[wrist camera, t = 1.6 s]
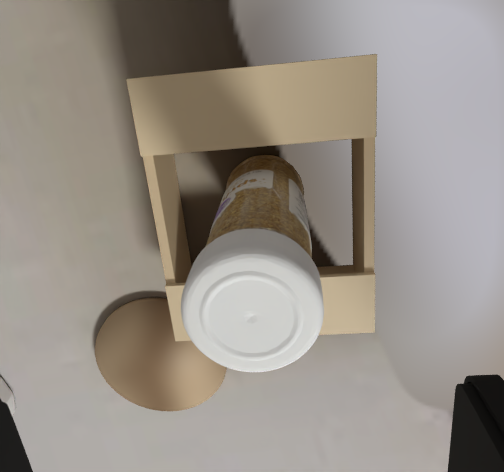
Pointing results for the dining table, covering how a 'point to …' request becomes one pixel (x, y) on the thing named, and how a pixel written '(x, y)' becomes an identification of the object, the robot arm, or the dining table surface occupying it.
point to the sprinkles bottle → (256, 273)
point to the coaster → (154, 359)
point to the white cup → (7, 396)
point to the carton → (257, 135)
